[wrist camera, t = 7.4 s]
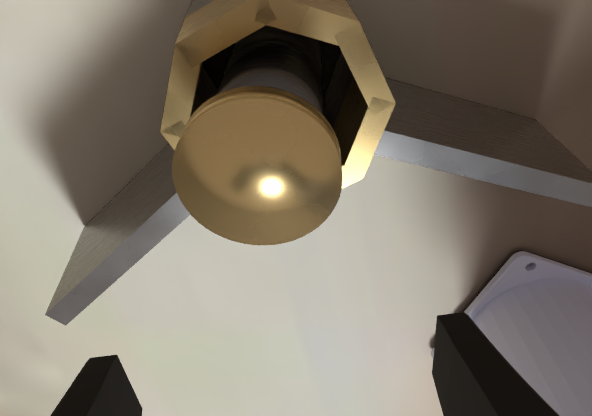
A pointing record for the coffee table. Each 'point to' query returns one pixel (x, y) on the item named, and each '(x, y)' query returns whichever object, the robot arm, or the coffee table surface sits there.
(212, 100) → the pin
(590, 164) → the coffee table surface
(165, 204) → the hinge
